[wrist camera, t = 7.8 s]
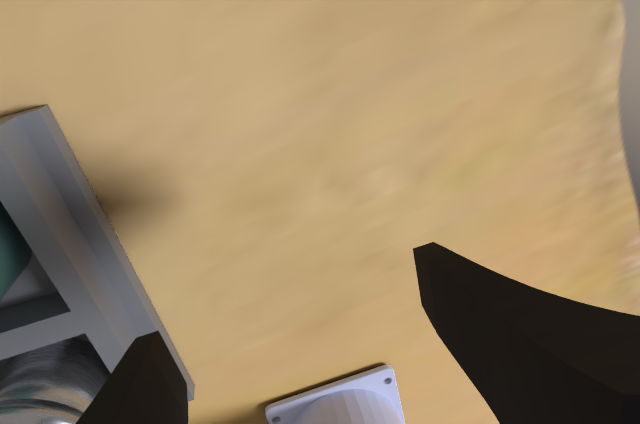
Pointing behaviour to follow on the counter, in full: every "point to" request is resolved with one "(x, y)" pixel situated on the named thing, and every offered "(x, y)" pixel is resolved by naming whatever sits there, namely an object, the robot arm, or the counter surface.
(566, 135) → the counter surface
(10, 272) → the teal cylinder
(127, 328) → the housing
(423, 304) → the robot arm
